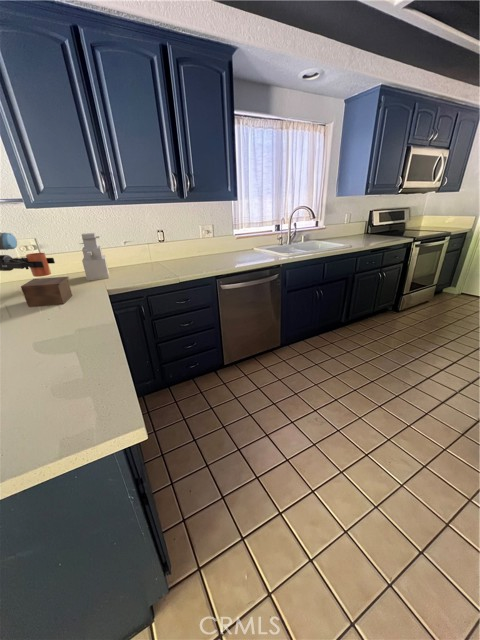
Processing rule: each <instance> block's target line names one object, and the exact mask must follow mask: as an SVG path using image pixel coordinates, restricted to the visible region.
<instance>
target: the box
mask: <svg viewBox="0 0 480 640" xmlns="http://www.w3.org/2000/svg"><path fill="white" fill-rule="evenodd" d="M20 290H21V292H22V294H23V296H24V299H25V302H26V305H27V307H28V308H34V307H37V308H38V307H49V306H59V305H64V304H66V303H67V302H68V301H69V300H70V299H71V298H72V297H73V293H72V290H71V286H70V283H69V278H68V279H67V280H66V281H64V282H63V283H62V284H61V285H57V286H43V287H29V288H21V287H20Z"/></svg>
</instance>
